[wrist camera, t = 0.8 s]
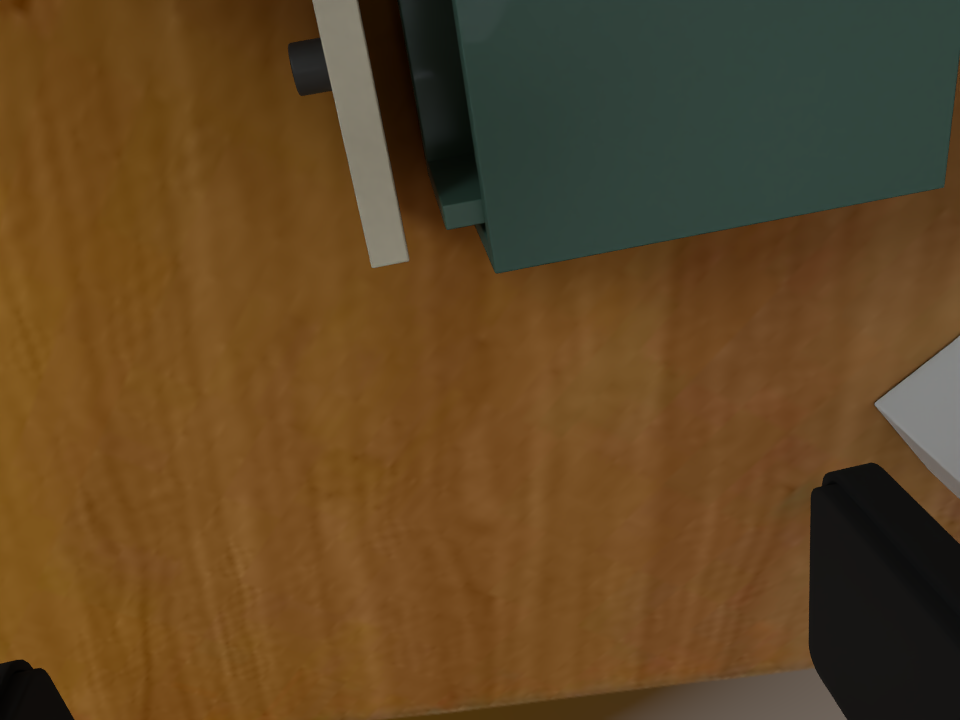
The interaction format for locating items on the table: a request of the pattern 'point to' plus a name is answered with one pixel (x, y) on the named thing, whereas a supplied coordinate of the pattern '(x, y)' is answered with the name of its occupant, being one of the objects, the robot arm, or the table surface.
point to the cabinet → (696, 114)
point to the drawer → (349, 76)
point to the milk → (930, 414)
